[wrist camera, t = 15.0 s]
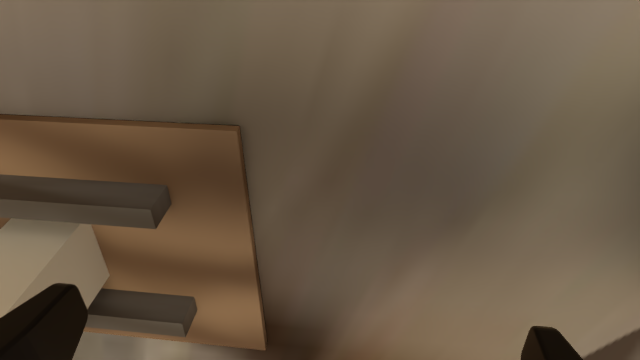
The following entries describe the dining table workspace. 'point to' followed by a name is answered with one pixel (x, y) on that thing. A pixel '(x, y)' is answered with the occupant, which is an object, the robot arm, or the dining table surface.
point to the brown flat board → (146, 220)
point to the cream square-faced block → (48, 260)
